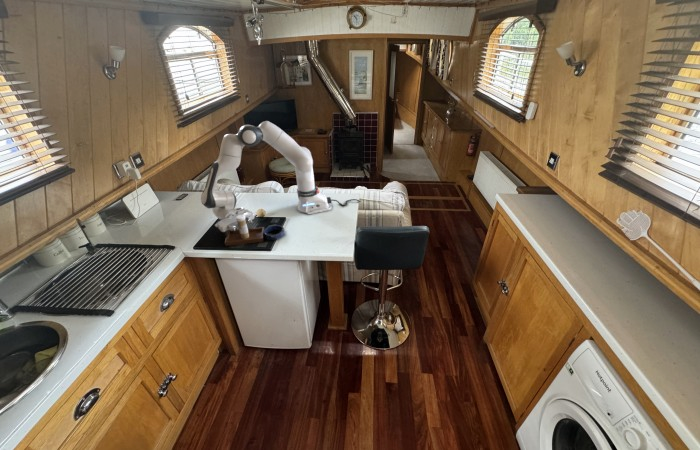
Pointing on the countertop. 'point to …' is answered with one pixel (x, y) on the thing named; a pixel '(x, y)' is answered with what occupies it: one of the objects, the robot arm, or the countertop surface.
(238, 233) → the tray
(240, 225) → the sprinkles bottle
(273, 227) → the enamel pot
